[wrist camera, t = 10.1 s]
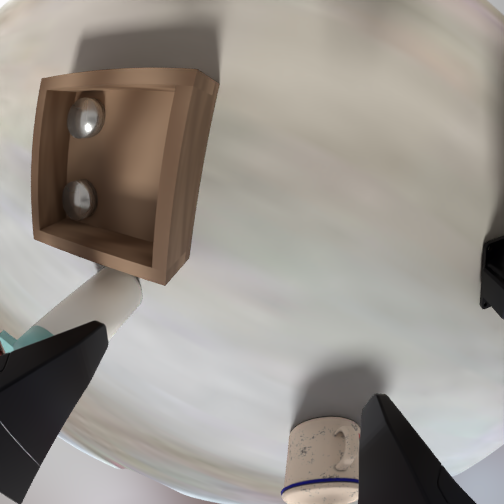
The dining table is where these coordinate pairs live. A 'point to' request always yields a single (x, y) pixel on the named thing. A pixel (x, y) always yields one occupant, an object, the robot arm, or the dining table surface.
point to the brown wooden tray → (124, 166)
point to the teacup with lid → (323, 462)
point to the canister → (86, 308)
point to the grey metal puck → (79, 199)
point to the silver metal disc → (86, 118)
